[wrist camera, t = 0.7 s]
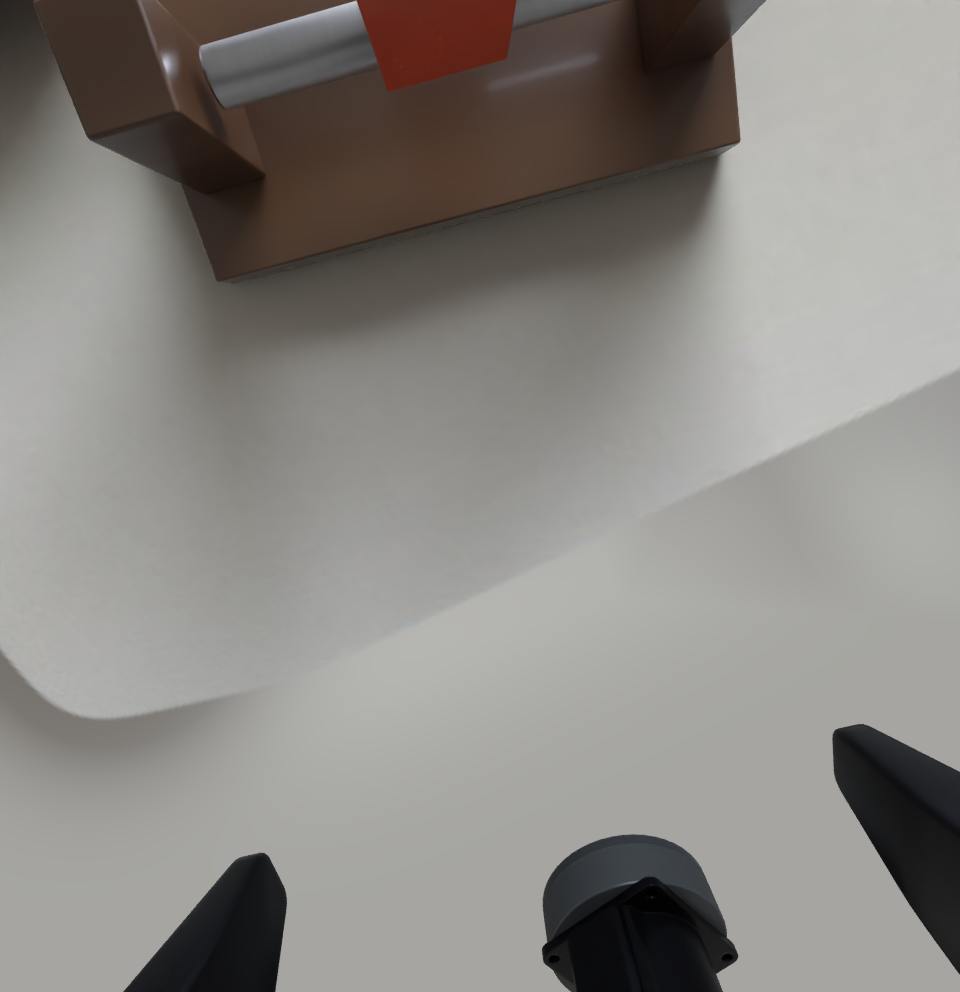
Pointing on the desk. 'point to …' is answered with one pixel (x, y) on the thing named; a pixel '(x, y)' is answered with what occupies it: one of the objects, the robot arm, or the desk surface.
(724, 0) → the foosball stand
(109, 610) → the desk surface
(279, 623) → the desk surface
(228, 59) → the red foosball player
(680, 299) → the desk surface
